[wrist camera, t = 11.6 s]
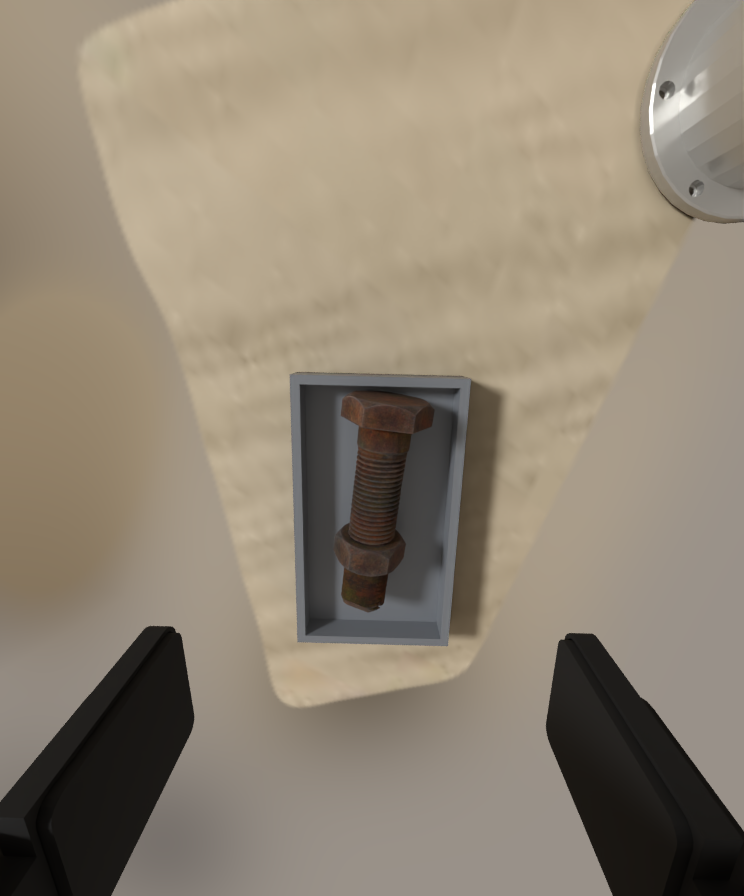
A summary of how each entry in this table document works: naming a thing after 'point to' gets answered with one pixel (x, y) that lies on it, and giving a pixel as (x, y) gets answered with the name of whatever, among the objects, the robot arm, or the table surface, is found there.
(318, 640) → the parts tray
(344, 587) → the bolt
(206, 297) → the table surface
